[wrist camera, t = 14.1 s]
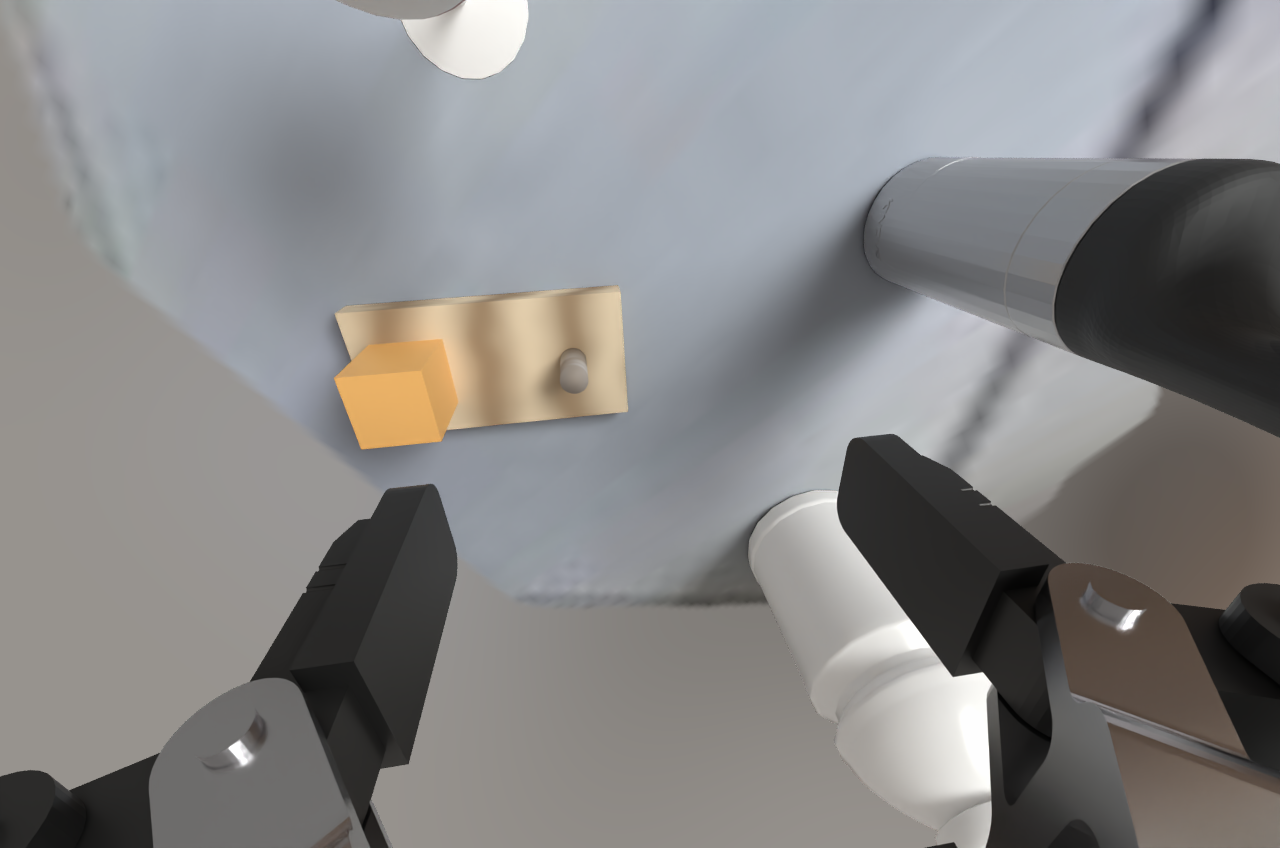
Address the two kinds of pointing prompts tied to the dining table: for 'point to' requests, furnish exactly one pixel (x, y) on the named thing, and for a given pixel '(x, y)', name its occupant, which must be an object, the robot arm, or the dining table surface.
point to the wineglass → (459, 31)
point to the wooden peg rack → (512, 350)
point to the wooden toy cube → (399, 393)
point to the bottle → (875, 673)
